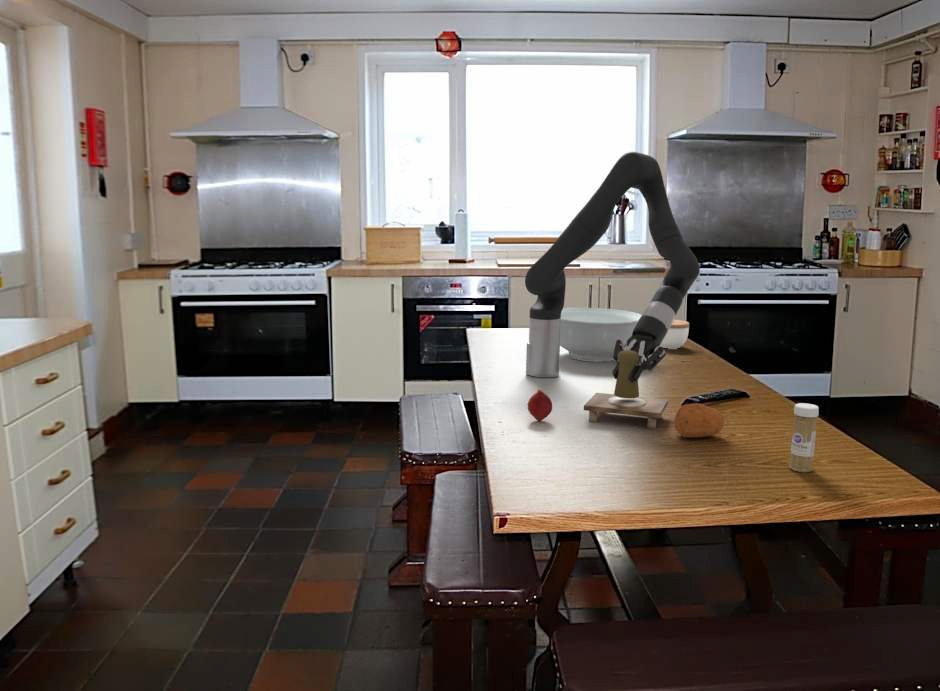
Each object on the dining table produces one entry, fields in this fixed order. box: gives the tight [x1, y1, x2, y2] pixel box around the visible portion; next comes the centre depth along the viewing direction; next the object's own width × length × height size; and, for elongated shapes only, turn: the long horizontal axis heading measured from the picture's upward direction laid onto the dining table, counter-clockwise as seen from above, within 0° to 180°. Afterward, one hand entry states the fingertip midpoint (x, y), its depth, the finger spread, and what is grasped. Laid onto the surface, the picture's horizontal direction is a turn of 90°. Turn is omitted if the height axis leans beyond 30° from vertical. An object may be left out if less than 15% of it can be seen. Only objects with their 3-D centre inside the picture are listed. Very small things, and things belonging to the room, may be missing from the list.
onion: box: [527, 387, 553, 422], centre depth 208 cm, size 6×6×8 cm
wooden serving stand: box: [583, 392, 669, 430], centre depth 212 cm, size 18×14×5 cm
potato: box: [673, 402, 725, 439], centre depth 198 cm, size 9×11×8 cm
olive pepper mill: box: [613, 350, 640, 398], centre depth 210 cm, size 6×6×11 cm
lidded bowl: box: [659, 319, 690, 350], centre depth 305 cm, size 13×13×11 cm
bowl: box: [560, 307, 642, 363], centre depth 285 cm, size 32×32×15 cm
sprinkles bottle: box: [788, 402, 820, 473], centre depth 175 cm, size 5×5×14 cm
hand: (623, 378), depth 209 cm, fingers open, 4 cm apart
